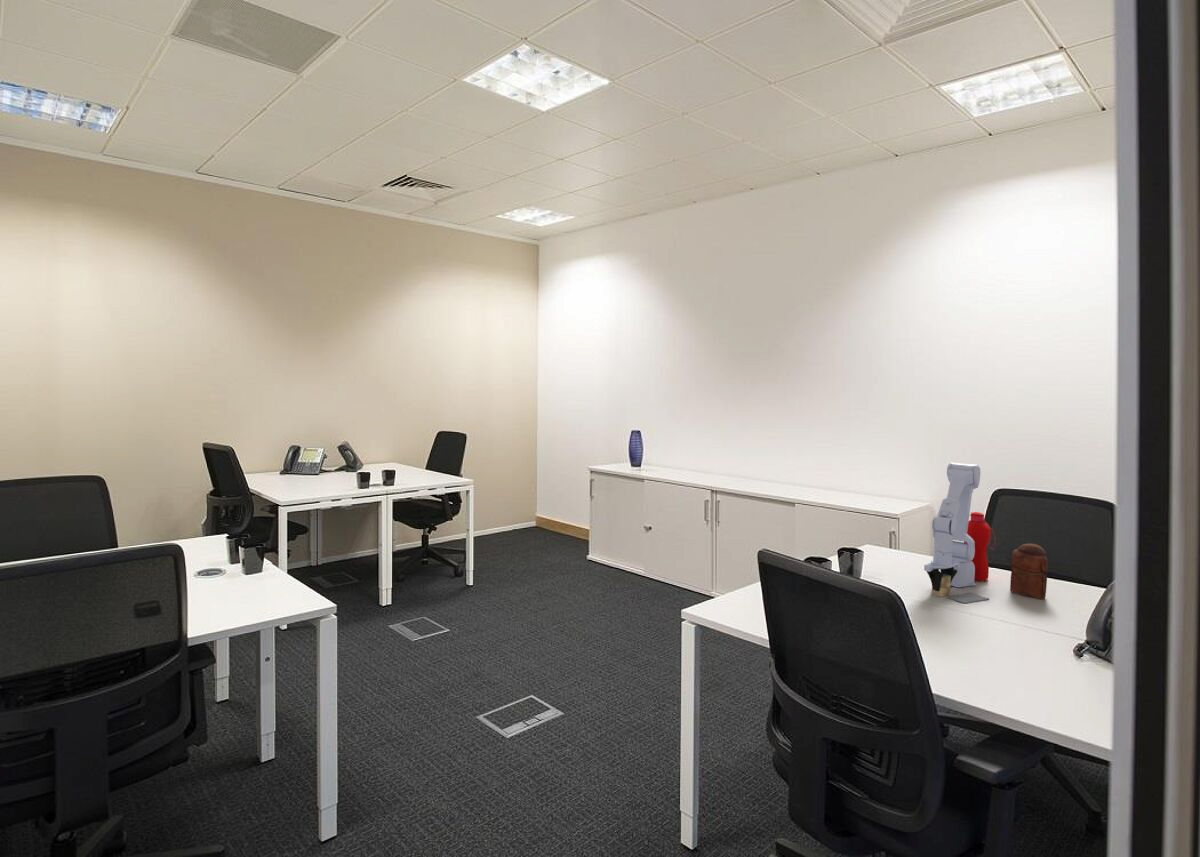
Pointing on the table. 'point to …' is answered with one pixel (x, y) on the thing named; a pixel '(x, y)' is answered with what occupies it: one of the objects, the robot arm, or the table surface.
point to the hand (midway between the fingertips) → (940, 589)
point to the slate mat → (967, 598)
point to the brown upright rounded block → (1029, 571)
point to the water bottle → (980, 544)
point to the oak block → (943, 586)
